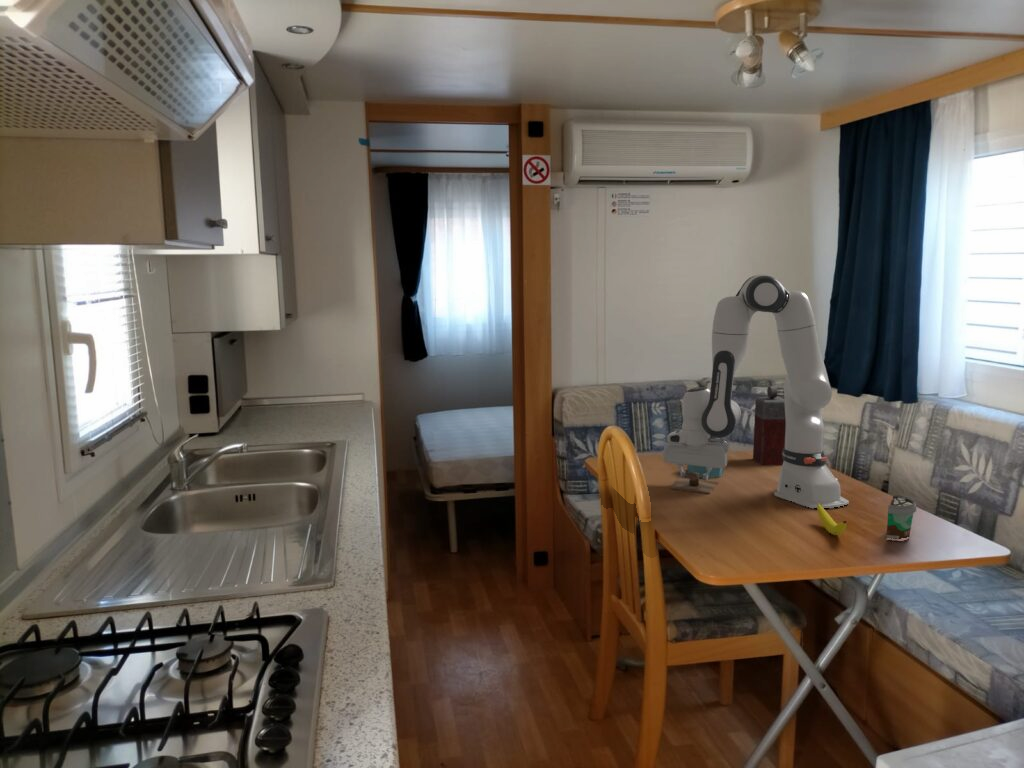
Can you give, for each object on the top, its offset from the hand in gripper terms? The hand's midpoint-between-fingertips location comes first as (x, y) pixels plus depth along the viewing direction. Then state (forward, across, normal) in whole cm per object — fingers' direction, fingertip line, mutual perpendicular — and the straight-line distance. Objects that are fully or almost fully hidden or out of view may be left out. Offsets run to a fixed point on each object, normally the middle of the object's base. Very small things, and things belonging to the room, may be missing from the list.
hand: (694, 478), depth 245 cm
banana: (+3, -42, +26) cm, 50 cm away
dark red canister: (+3, -19, -42) cm, 46 cm away
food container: (+3, -60, +23) cm, 64 cm away
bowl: (+3, 0, -16) cm, 17 cm away
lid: (+3, 0, 0) cm, 3 cm away
